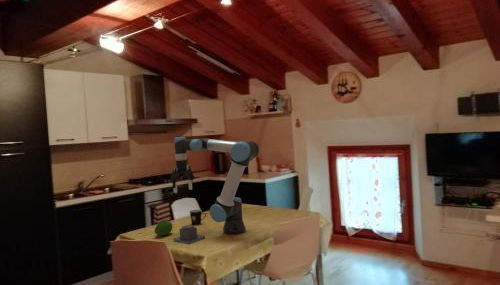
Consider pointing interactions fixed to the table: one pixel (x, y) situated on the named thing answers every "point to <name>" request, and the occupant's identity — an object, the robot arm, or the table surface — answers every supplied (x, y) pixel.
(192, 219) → the coffee mug
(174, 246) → the table surface
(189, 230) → the grey block
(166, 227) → the fruit
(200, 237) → the grey peg base
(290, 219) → the table surface
